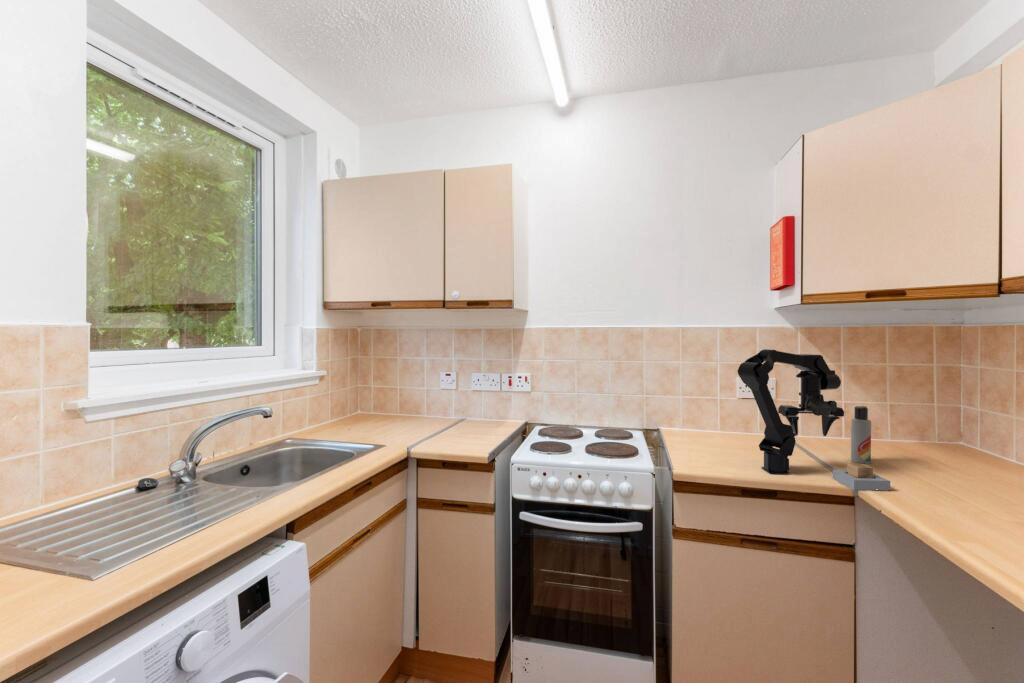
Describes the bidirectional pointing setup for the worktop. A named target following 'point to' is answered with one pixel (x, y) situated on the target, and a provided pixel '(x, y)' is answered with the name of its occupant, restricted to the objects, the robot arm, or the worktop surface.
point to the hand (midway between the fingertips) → (810, 435)
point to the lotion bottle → (861, 436)
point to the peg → (860, 471)
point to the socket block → (861, 481)
